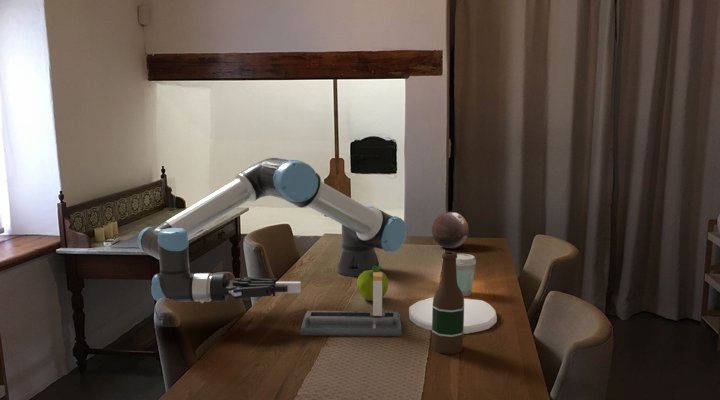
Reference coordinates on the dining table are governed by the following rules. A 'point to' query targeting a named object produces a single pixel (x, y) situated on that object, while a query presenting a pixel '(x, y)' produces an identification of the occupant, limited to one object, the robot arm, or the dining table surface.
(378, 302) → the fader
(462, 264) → the coffee cup
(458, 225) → the wooden sphere
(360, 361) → the dining table surface
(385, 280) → the fruit
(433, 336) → the beer bottle
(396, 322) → the fader console
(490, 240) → the dining table surface
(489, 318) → the decorative plate
